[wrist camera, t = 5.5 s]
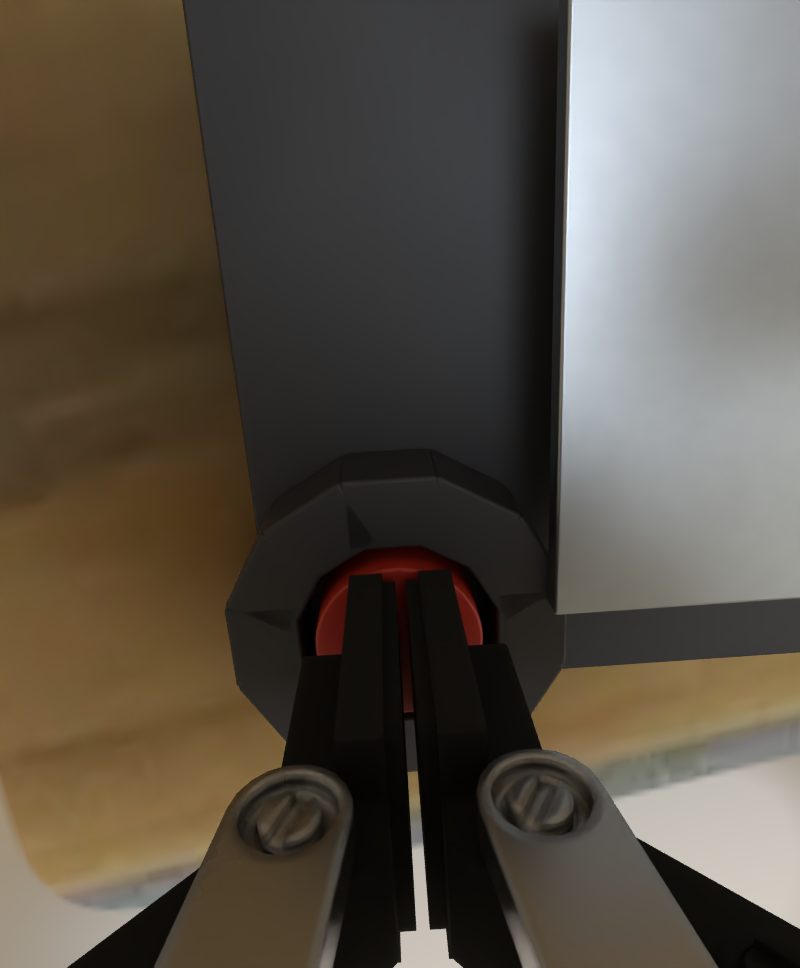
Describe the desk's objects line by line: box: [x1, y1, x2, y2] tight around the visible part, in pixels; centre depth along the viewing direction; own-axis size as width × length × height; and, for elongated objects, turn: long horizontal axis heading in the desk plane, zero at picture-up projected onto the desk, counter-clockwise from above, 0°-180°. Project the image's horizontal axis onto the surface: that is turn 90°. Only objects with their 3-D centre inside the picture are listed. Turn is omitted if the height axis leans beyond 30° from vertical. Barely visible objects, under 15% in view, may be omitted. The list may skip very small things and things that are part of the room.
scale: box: [182, 0, 800, 772], centre depth 11 cm, size 15×13×3 cm
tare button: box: [315, 546, 483, 713], centre depth 12 cm, size 3×3×2 cm
